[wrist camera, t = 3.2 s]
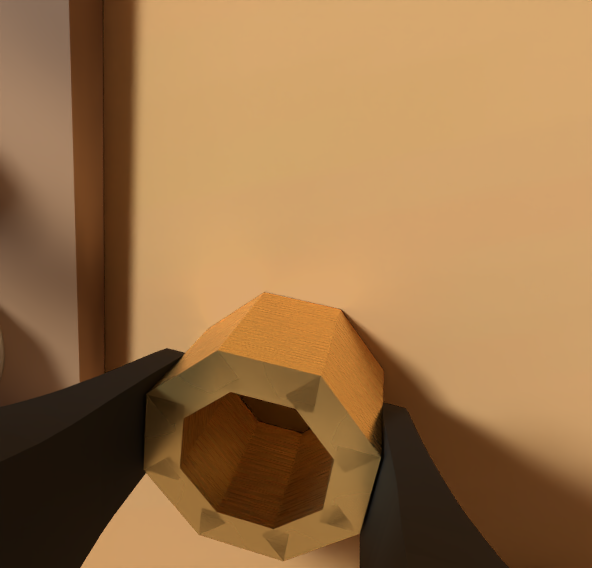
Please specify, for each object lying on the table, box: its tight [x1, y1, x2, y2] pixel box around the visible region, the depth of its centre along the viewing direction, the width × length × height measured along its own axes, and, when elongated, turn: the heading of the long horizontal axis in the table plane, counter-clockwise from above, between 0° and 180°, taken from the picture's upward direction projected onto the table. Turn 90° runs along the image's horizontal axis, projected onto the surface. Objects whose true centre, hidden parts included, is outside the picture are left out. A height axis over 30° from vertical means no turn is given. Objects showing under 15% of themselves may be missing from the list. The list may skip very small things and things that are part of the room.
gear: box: [144, 292, 384, 561], centre depth 11 cm, size 5×5×4 cm
